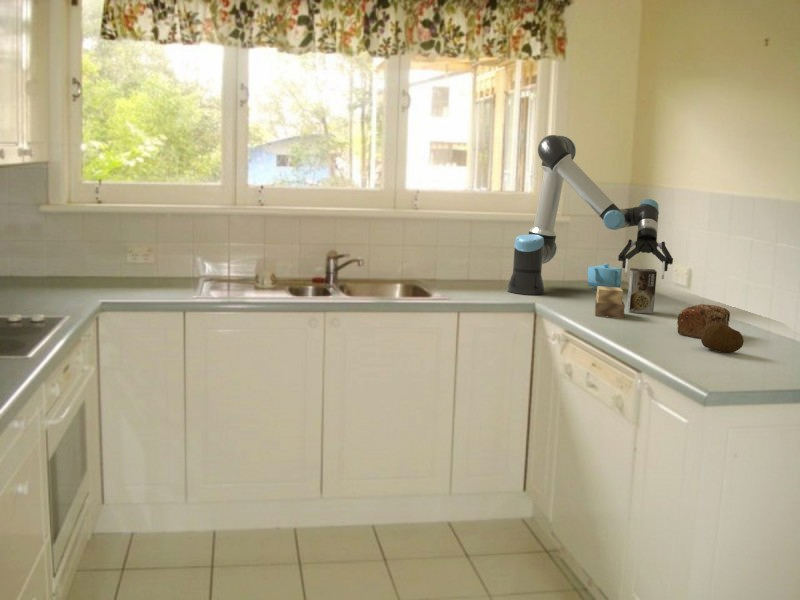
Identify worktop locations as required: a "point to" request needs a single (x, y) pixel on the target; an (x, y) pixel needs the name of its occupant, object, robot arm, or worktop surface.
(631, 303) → the coffee box
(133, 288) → the worktop surface
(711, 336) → the potato
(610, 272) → the teapot
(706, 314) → the bread
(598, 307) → the tower base
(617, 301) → the tower top
